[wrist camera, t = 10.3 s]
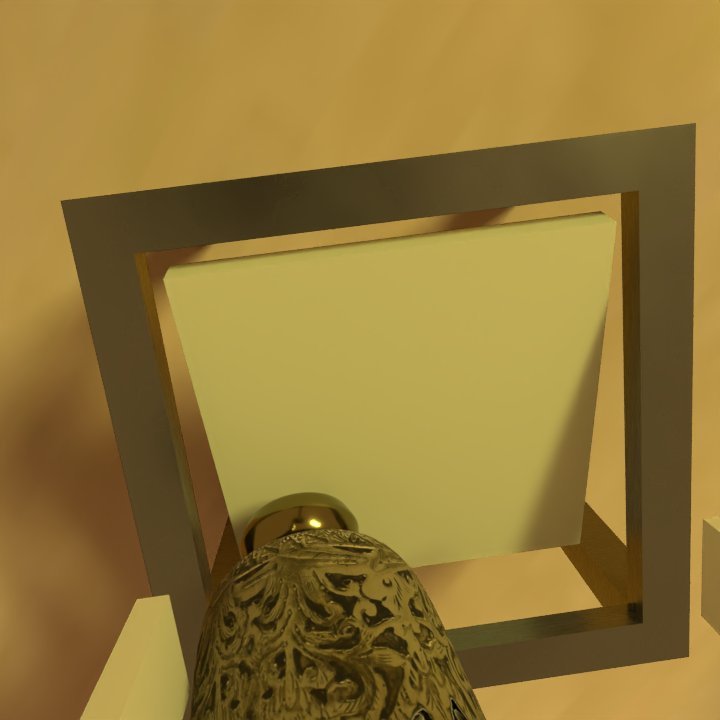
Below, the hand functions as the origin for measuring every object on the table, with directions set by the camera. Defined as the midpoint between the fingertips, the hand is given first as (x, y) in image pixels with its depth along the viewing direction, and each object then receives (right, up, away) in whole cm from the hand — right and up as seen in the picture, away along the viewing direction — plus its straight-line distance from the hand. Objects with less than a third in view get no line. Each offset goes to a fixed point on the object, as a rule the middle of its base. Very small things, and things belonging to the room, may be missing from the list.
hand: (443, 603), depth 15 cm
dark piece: (-4, +1, +5) cm, 6 cm away
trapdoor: (-1, +4, +5) cm, 6 cm away
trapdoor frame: (-1, +7, +16) cm, 17 cm away
